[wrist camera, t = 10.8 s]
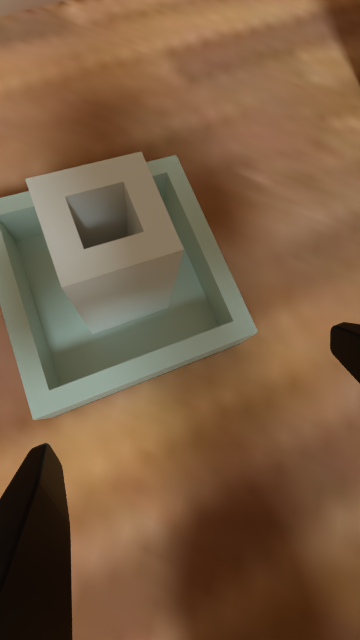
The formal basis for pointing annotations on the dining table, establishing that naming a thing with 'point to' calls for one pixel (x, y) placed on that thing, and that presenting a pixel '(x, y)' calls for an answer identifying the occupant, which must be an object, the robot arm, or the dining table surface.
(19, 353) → the green square tray
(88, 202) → the beige hollow square block
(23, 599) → the robot arm
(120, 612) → the dining table surface
